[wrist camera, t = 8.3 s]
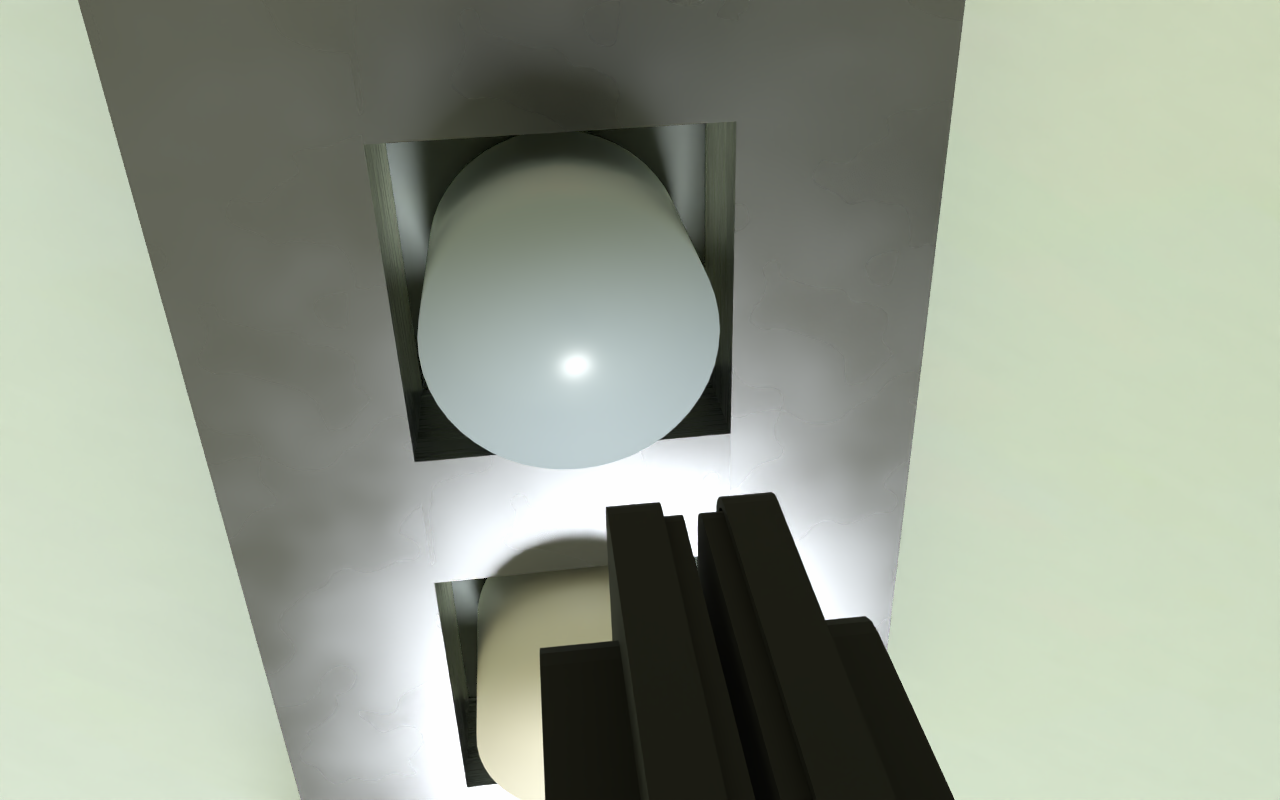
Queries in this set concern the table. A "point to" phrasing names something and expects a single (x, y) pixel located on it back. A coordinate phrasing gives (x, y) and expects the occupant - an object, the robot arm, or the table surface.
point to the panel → (384, 337)
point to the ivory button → (529, 662)
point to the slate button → (564, 304)
